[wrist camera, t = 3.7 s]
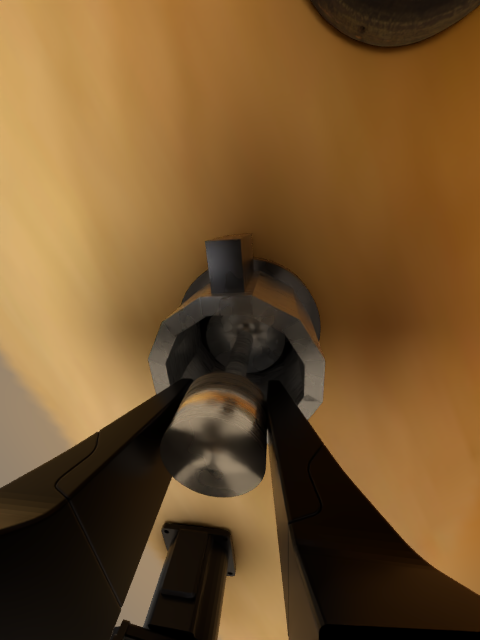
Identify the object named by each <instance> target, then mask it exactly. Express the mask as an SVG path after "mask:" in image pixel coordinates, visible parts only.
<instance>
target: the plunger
mask: <svg viewBox="0 0 480 640" xmlns="http://www.w3.org/2000/svg"><path fill="white" fill-rule="evenodd" d="M206 340H207V344H208V347H209V349H210V351H211V353H212V354H213V356H214V357H215V358H216V359H217V360H218V361H219V362H220V363H221V364H222V365H224V366H225V367H226V368H225V371H217V372H211V373H207V374H205V375H202V376H200V377H199V378H197V379H196V380H195V381H194V382H193V383H192V384H191V385H190V387H189V389H188V390H187V392H186V394H185V396H184V398H183V400H182V402H181V404H180V405H179V407H178V409H177V411H176V413H175V415H174V417H173V419H172V421H171V422H170V424H169V426H168V428H167V430H166V432H165V434H164V436H163V438H162V440H161V443H160V456H161V459H162V462H163V464H164V466H165V468H166V469H167V471H168V472H169V473H170V474H171V475H172V476H173V477H174V478H175V479H176V480H177V481H178V482H179V483H181V484H182V485H184V486H185V487H187V488H189V489H191V490H193V491H195V492H198V493H201V494H204V495H208V496H214V497H234V496H239V495H242V494H245V493H247V492H249V491H251V490H253V489H254V488H255V487H256V486H257V485H258V484H259V483H260V482H261V481H262V479H263V477H264V474H265V470H266V449H267V427H268V421H267V400H266V398H265V395H264V394H263V392H262V391H261V389H260V388H259V387H258V386H257V385H256V384H255V383H253V382H252V381H251V380H249V379H248V378H246V374H247V373H252V372H258V371H262V370H264V369H266V368H268V367H270V366H271V365H272V364H274V363H275V362H276V361H277V360H278V358H279V357H280V355H281V354H282V351H283V349H284V345H285V334H284V333H282V332H280V331H278V330H276V329H274V328H272V327H270V326H268V325H266V324H264V323H262V322H261V321H259V320H257V319H255V318H253V317H251V316H249V315H222V316H212V317H211V319H210V320H209V323H208V325H207V330H206Z"/></svg>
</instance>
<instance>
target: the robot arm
mask: <svg viewBox="0 0 480 640" xmlns="http://www.w3.org/2000/svg"><path fill="white" fill-rule="evenodd" d="M193 382H194V381H193V379H192V378H182V379H180V380H178V381H177V382H175V383H174V384H172V385H170V386H169V387H167V388H166V389H164V390H163V391H161V392H159V393H158V394H156V395H155V396H153V397H152V398H150V399H148V400H147V401H145V402H144V403H142V404H141V405H139V406H137V407H136V408H134V409H133V410H131V411H129V412H128V413H126V414H125V415H123V416H122V417H120V418H118V419H117V420H115V421H114V422H112V423H111V424H109V425H107V426H106V427H104V428H103V429H101V430H100V431H99V432H96V433H95V434H93V435H92V436H90V437H88V438H87V439H85V440H84V441H82V442H80V443H79V444H77V445H75V446H74V447H72V448H71V449H69V450H67V451H66V452H64V453H62V454H60V455H59V456H57V457H55V458H53V459H52V460H50V461H48V462H46V463H44V464H43V465H41V466H39V467H37V468H36V469H34V470H32V471H30V472H28V473H27V474H25V475H23V476H21V477H19V478H18V479H16V480H14V481H12V482H11V483H9V484H7V485H5V486H3V487H2V488H0V640H217V639H218V632H219V625H220V618H221V611H222V603H223V596H224V589H225V582H226V576H235V572H236V566H235V559H234V552H233V545H232V537H231V533H230V532H229V531H226V530H219V529H210V528H202V527H193V526H185V525H176V524H168V523H165V524H164V525H163V527H162V530H161V531H162V534H163V538H164V541H165V544H166V548H167V551H168V553H167V556H166V559H165V562H164V565H163V568H162V571H161V574H160V577H159V581H158V584H157V587H156V590H155V593H154V595H153V598H152V601H151V605H150V607H149V610H148V614H147V617H146V620H145V623H144V626H143V627H140V626H137V625H133V624H130V621H127V620H123V621H122V623H121V626H119V627H115V625H116V622H117V619H118V617H119V614H120V612H121V607H122V606H123V603H124V601H125V598H126V595H127V593H128V590H129V588H130V585H131V582H132V580H133V577H134V575H135V572H136V569H137V567H138V564H139V562H140V559H141V556H142V554H143V551H144V549H145V546H146V543H147V541H148V538H149V536H150V533H151V530H152V528H153V525H154V522H155V520H156V517H157V515H158V512H159V509H160V507H161V504H162V502H163V499H164V496H165V494H166V491H167V489H168V486H169V483H170V481H171V478H172V475H171V474H170V473H169V472H168V471H167V469H166V468H165V466H164V464H163V462H162V459H161V456H160V443H161V440H162V438H163V436H164V434H165V432H166V430H167V428H168V426H169V424H170V422H171V421H172V419H173V417H174V415H175V413H176V411H177V409H178V407H179V405H180V404H181V402H182V400H183V398H184V396H185V394H186V392H187V390H188V389H189V387H190V385H191V384H192V383H193ZM267 421H268V447H269V458H270V467H271V477H272V486H273V496H274V505H275V515H276V524H277V534H278V544H279V553H280V563H281V572H282V582H283V591H284V601H285V610H286V620H287V629H288V636H289V640H480V595H478V594H476V593H475V592H473V591H471V590H470V589H468V588H467V587H465V586H463V585H462V584H460V583H458V582H457V581H455V580H453V579H452V578H450V577H449V576H447V575H445V574H444V573H442V572H440V571H439V570H437V569H436V568H434V567H433V566H432V565H430V564H429V563H428V562H426V561H425V560H424V559H423V558H422V557H421V556H419V555H418V554H417V553H416V552H415V551H414V550H413V549H412V548H411V547H410V546H409V545H408V544H407V543H406V542H405V541H404V540H403V539H402V538H401V537H400V535H399V534H398V533H397V532H396V531H395V530H394V529H393V527H392V526H391V525H390V524H389V523H388V522H387V521H386V519H385V518H384V517H383V516H382V515H381V514H380V513H379V511H378V510H377V509H376V508H375V507H374V506H373V505H372V503H371V502H370V501H369V500H368V499H367V498H366V497H365V495H364V494H363V493H362V492H361V491H360V490H359V489H358V487H357V486H356V485H355V484H354V483H353V481H352V480H351V479H350V478H349V477H348V476H347V474H346V473H345V472H344V471H343V469H342V468H341V467H340V465H339V464H338V463H337V461H336V460H335V459H334V457H333V456H332V455H331V453H330V452H329V450H328V449H327V447H326V446H325V445H324V443H323V442H322V440H321V439H320V437H319V436H318V435H317V433H316V432H315V430H314V429H313V427H312V426H311V425H310V423H309V422H308V420H307V419H306V417H305V416H304V415H303V413H302V412H301V410H300V409H299V407H298V406H297V404H296V403H295V402H294V400H293V399H292V397H291V396H290V394H289V393H288V392H287V390H286V389H285V387H284V386H283V384H282V383H281V382H280V381H279V380H269V381H268V388H267ZM114 627H115V628H114Z"/></svg>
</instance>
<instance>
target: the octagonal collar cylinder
mask: <svg viewBox="0 0 480 640" xmlns="http://www.w3.org/2000/svg"><path fill="white" fill-rule="evenodd" d="M205 245H206V253H207V262H208V270H207V271H205V272H204V273H203V274H202V275H200V276H199V277H198V278H197V279H196V280H195V281H194V282H193V283H192V284H191V286H190V287H189V289H188V290H187V292H186V294H185V296H184V298H183V300H182V303H181V306H180V307H179V308H178V309H176V310H175V311H174V312H173V313H172V314H171V315H170V316H168V317H167V318H166V319H165V320H164V321H163V322H162V323H161V326H160V328H159V331H158V334H157V336H156V339H155V342H154V344H153V347H152V350H151V352H150V355H149V357H148V362H149V366H150V370H151V374H152V379H153V383H154V387H155V391H156V394H158V393H159V392H161V391H163V390H164V389H166V388H167V387H169V386H170V385H172V384H174V383H175V382H177V381H178V380H180V379H182V378H192V379H193V381H195V380H196V379H197V378H199V377H200V376H202V375H205V374H207V373H211V372H217V371H225V368H226V367H225V366H224V365H222V364H221V363H220V362H219V361H218V360H217V359H216V358H215V357H214V356H213V354H212V353H211V351H210V349H209V347H208V344H207V340H206V330H207V325H208V323H209V320H210V319H211V317H212V316H222V315H249V316H251V317H253V318H255V319H257V320H259V321H261V322H262V323H264V324H266V325H268V326H270V327H272V328H274V329H276V330H278V331H280V332H282V333H284V334H285V345H284V349H283V351H282V354H281V355H280V357H279V358H278V360H277V361H276V362H275V363H274V364H272V365H271V366H270V367H268V368H266V369H264V370H262V371H258V372H252V373H247V374H246V378H248V379H249V380H251V381H252V382H253V383H255V384H256V385H257V386H258V387H259V388H260V389H261V391H262V392H263V394H264V395H265V398H266V400H267V388H268V381H269V380H279V381H280V382H281V383H282V384H283V386H284V387H285V389H286V390H287V392H288V393H289V394H290V396H291V397H292V399H293V400H294V402H295V403H296V404H297V406H298V407H299V409H300V410H301V412H302V413H303V415H304V416H305V417H306V419H307V420H308V419H309V418H310V417H311V416H312V414H313V413H314V412H315V411H316V410H317V408H318V407H319V406H320V405H321V404H322V402H323V390H324V374H325V358H324V356H323V353H322V350H321V347H320V344H319V338H320V318H319V313H318V310H317V307H316V304H315V302H314V300H313V298H312V296H311V294H310V292H309V290H308V289H307V287H306V286H305V284H304V283H303V282H302V281H301V280H300V279H299V278H298V277H297V276H296V275H295V274H294V273H292V272H291V271H290V270H288V269H287V268H285V267H283V266H282V265H279V264H277V263H275V262H272V261H269V260H266V259H261V258H254V257H253V243H252V234H240V235H227V236H223V237H219V238H216V239H212V240H208V241H205ZM267 444H268V427H267Z"/></svg>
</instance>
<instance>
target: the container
mask: <svg viewBox="0 0 480 640" xmlns="http://www.w3.org/2000/svg"><path fill="white" fill-rule="evenodd" d="M311 2H312V3H313V5H314V6H315V8H316V9H317V10H318V12H319V13H320V14H321V15H322V17H323V18H324V19H325V20H326V21H327V22H329V23H330V24H331V25H332V26H334V27H335V28H336V29H338V30H339V31H340V32H342V33H344V34H345V35H347V36H349V37H351V38H353V39H355V40H359V41H361V42H364V43H367V44H371V45H377V46H401V45H407V44H411V43H415V42H418V41H421V40H424V39H426V38H429V37H431V36H433V35H435V34H437V33H439V32H441V31H443V30H444V29H446V28H448V27H449V26H451V25H453V24H454V23H456V22H457V21H459V20H460V19H462V18H463V17H465V16H466V15H467V14H469V13H470V12H471V11H473V10H474V9H475V8H476V7H478V6H479V5H480V0H311Z"/></svg>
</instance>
